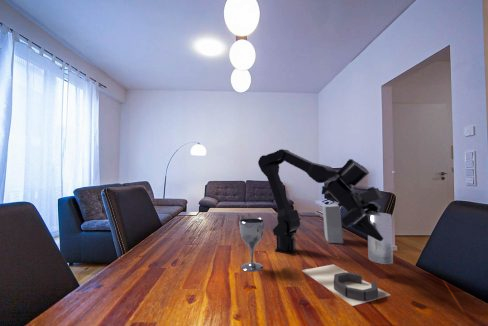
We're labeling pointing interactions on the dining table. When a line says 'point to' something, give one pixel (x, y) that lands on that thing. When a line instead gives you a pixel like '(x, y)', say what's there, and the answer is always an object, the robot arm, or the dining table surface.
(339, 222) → the skincare box
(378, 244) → the grey round cylinder
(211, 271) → the dining table surface
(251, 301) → the dining table surface
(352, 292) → the ring stand
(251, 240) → the wine glass
